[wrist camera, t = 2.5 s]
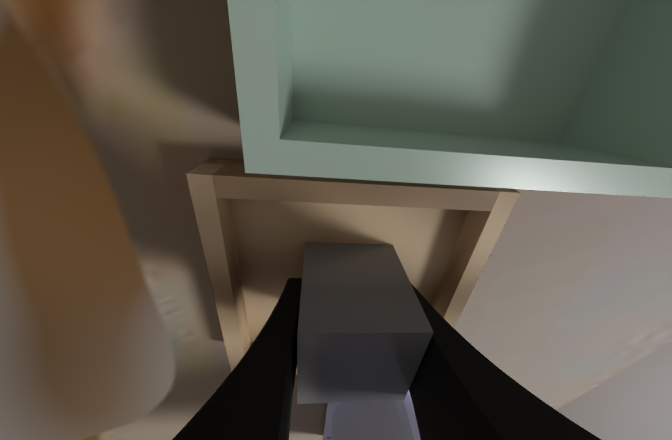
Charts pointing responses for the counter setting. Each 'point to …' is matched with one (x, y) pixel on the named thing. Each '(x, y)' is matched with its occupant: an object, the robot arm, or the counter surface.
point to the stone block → (357, 325)
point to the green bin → (459, 92)
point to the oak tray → (335, 236)
